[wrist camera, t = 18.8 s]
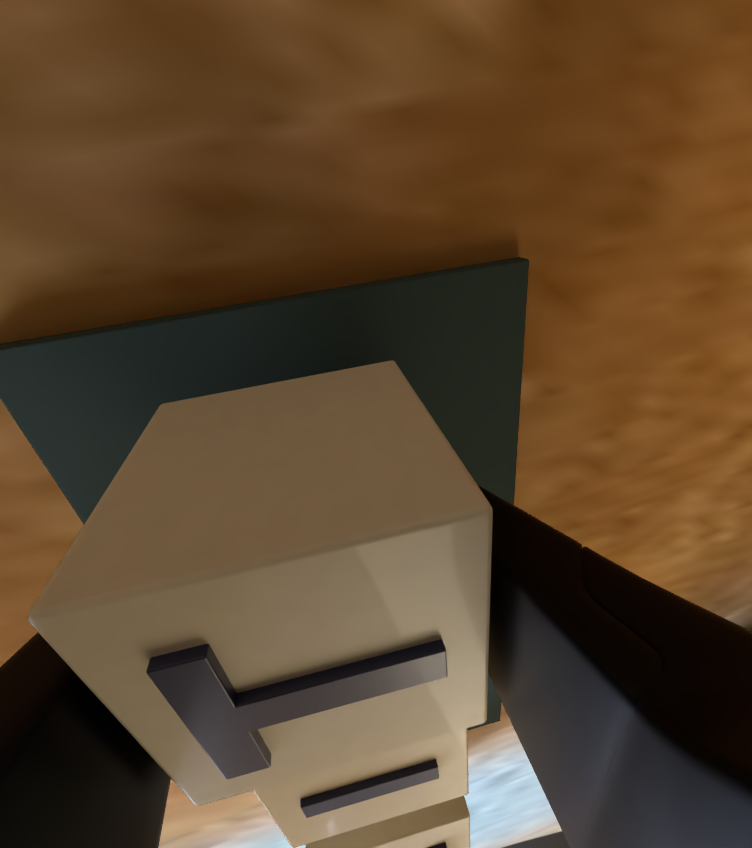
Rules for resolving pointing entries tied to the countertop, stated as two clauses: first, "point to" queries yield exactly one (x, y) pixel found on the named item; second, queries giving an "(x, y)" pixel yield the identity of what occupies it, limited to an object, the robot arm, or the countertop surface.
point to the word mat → (283, 370)
